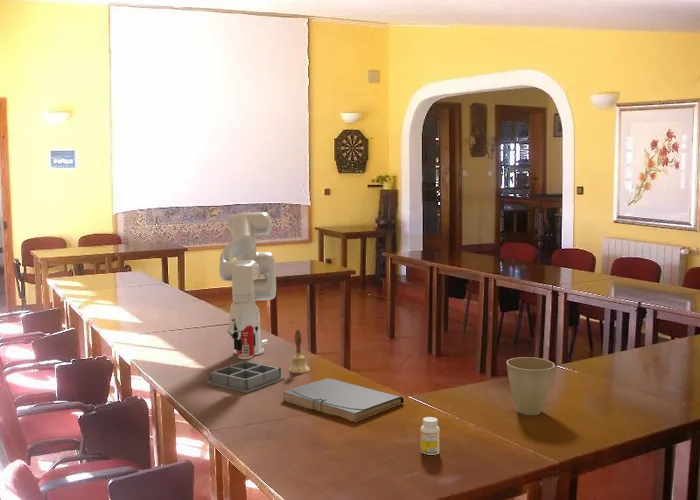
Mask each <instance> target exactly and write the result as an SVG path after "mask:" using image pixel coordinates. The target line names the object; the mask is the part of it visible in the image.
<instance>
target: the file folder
mask: <svg viewBox="0 0 700 500" xmlns="http://www.w3.org/2000/svg"><path fill="white" fill-rule="evenodd" d="M282 394H283V396H282V397H283V402H286V401H287V402H286V403H290V404H292V403H293V404H292V405H295V404H296V406H299V407H302V408H305V409H308V408H309V409H310V410H313V409H315V410H314V411H317V410H318V411H317V412H320V411H321V412H320V413H322V412H324V413H323V414H326V413H329V414H328V415H330V414H334V415H338V416H342V417H344V418H347V419H349V420H352V421H354V422H353V423H355V422H356V421H358V420H361V419H364V418H366V417H369V416H370V415H373V414H375V413H377V412H380V411H383V410H386V409H388V408H391V407H394V406H396V405H398V404H401V403H403V404H404V403H405V402H404V398H403V397H402V396H399V395H396V394H392V393H388V392H386V391H385V392H384V391H382V390H381V391H380V390H377V389H373V388H368V387H365V386H362V385H357V384H353V383H350V382H346V381H342V380H338V379H335V378H332V377H327V378H323V379H320V380H317V381H314V382H309V383H306V384H304V385H299V386H296V387H293V388H291V389H287V390H285V391H282ZM401 405H402V404H401ZM394 408H395V407H394ZM334 415H333V416H334ZM369 418H370V417H369ZM364 420H365V419H364ZM352 421H351V422H352ZM356 423H357V422H356Z"/></svg>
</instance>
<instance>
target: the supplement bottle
mask: <svg viewBox="0 0 700 500" xmlns="http://www.w3.org/2000/svg"><path fill="white" fill-rule="evenodd" d="M438 423H439V422H438V418H436V417H432V416H426V417H423V418H422V425H421V426H420V438H419V440H420V444H419V445H420V453H421V452H422V453H424V454H428V455H435V454H438V455H439V454H440V450H441V444H440V443H441V436H440V435H441V432H440V431H441V429H440V426H438ZM422 453H421V454H422ZM435 456H436V455H435Z"/></svg>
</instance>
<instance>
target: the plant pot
mask: <svg viewBox="0 0 700 500" xmlns="http://www.w3.org/2000/svg"><path fill="white" fill-rule="evenodd" d="M555 366H556V365H555V363H554V362H553V361H550V360H548V359H544V358H540V357H529V356H527V357H525V356H524V357H523V356H522V357H521V356H520V357H519V356H518V357H513V358H510V359H507V360H506V369H507V376H508V384H509V387H510V391H511V395H512V399H513V402H514V405H515V407H516V408H515V409H516V410H517V412H518V413H520V414H521V415H525V416H537V415H540V414H541V413H542V410H543V409H544V407H545V405H546V404H545V403H546V402H547V399H548V397H549V396H548V395H549V392H550V389H551V387H552V384H553V383H552V381H553V378H554V372H555Z"/></svg>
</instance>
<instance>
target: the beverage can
mask: <svg viewBox="0 0 700 500" xmlns="http://www.w3.org/2000/svg"><path fill="white" fill-rule="evenodd" d="M237 335H238V332H237ZM240 339H241V340H242V350H240V351H239V350H236V354H235V355H236V356H237V358H239V359H240V360H248V359H251V358H252V357H254V356H255V355H254V331H253V327H252V326H251V325H248V326H246V328H245V329H244V330H243V331H241V337H240Z"/></svg>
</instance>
